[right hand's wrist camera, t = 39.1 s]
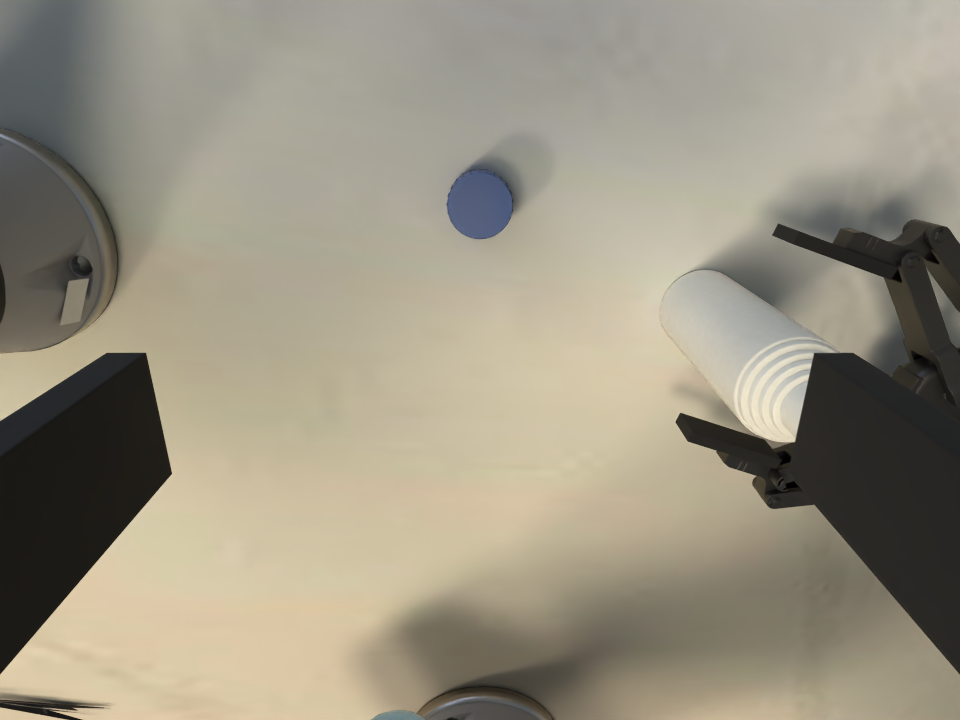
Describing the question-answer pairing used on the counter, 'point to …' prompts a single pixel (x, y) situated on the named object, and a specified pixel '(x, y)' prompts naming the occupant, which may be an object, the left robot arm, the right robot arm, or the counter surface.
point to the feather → (41, 708)
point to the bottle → (743, 350)
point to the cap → (479, 204)
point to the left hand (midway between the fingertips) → (730, 335)
